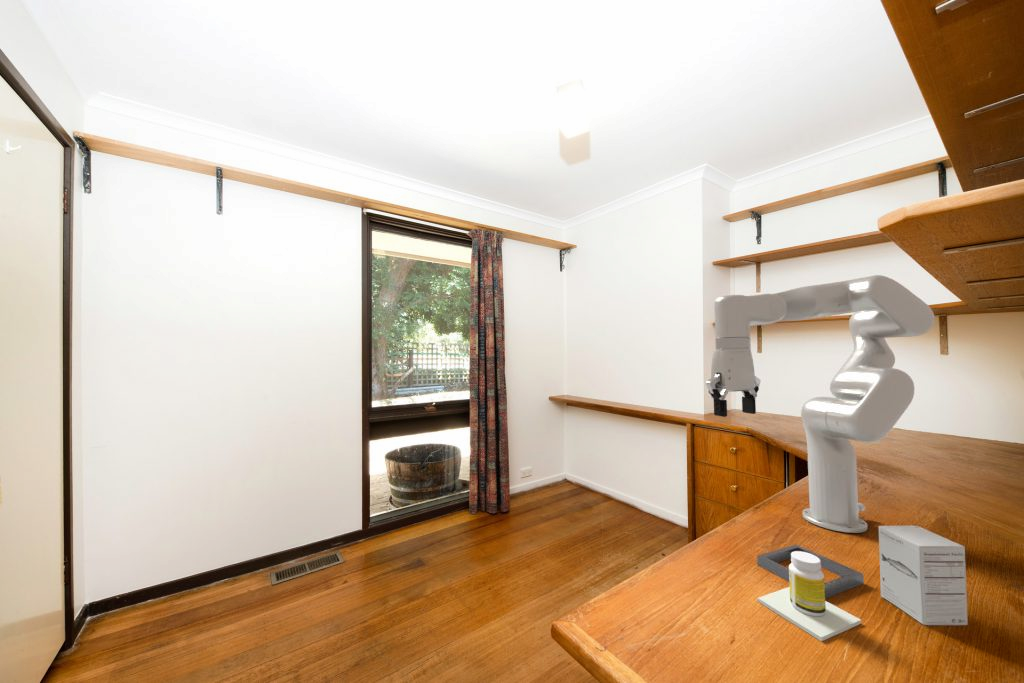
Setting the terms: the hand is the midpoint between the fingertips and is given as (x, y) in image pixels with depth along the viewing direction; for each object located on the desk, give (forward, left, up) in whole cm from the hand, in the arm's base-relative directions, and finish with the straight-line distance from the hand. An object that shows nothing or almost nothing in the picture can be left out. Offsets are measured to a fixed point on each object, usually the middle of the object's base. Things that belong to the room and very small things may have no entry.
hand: (735, 414), depth 94 cm
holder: (+4, +18, -28) cm, 34 cm away
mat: (+16, +25, -28) cm, 41 cm away
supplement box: (-2, +32, -28) cm, 43 cm away
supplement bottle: (+16, +25, -28) cm, 41 cm away
